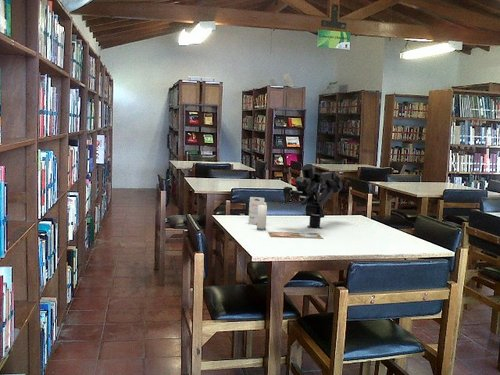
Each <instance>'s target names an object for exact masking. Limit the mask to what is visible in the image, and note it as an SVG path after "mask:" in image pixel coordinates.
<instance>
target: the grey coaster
mask: <svg viewBox="0 0 500 375" xmlns="http://www.w3.org/2000/svg"><path fill="white" fill-rule="evenodd" d="M299 233H300V234H299V236H302V237H310V238H314V237H318V235H317V234H313V233H314V232H299ZM310 238H309V239H310Z"/></svg>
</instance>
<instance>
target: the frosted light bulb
mask: <svg viewBox="0 0 500 375" xmlns="http://www.w3.org/2000/svg"><path fill="white" fill-rule="evenodd" d="M267 208H268V205H267V204H266V205H258V217H257V225H256V230H257V231H259V232H260V231H262V232H263V231H264V232H265V231H266V230H267V216H268V215H267V213H268V212H267V211H268V210H267Z"/></svg>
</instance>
